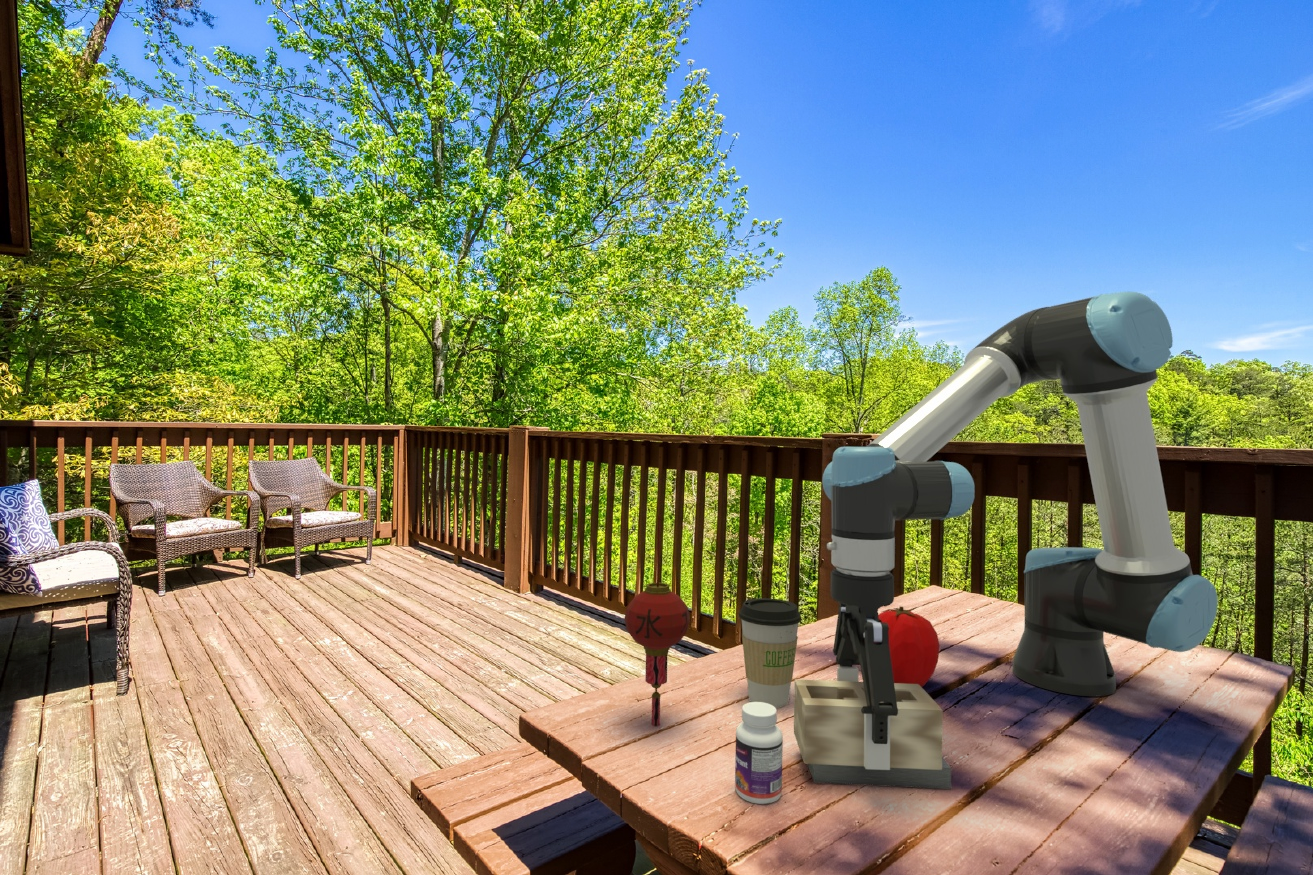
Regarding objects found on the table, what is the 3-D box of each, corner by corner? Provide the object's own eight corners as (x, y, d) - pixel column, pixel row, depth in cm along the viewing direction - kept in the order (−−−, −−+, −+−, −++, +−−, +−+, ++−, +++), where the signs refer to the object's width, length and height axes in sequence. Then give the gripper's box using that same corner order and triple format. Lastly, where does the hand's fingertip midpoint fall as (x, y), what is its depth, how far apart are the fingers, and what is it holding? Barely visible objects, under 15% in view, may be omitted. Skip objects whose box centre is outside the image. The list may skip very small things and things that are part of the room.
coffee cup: (801, 716, 94) (802, 615, 94) (734, 709, 96) (736, 610, 96) (799, 690, 103) (800, 599, 103) (739, 685, 105) (740, 595, 105)
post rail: (928, 759, 81) (929, 708, 81) (950, 788, 74) (951, 733, 74) (803, 753, 82) (804, 703, 82) (814, 782, 75) (814, 728, 75)
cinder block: (917, 737, 82) (918, 684, 82) (941, 769, 74) (942, 710, 74) (793, 732, 83) (794, 679, 83) (804, 763, 75) (805, 704, 75)
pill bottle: (730, 780, 76) (731, 699, 76) (774, 778, 76) (775, 698, 76) (740, 806, 70) (741, 719, 70) (787, 804, 71) (788, 718, 71)
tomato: (868, 695, 102) (869, 613, 102) (864, 669, 114) (865, 596, 114) (946, 704, 99) (947, 620, 99) (933, 676, 110) (934, 601, 110)
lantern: (696, 715, 93) (699, 513, 93) (677, 744, 84) (680, 520, 84) (636, 705, 96) (639, 510, 96) (612, 732, 87) (615, 517, 87)
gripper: (812, 551, 91) (811, 697, 91) (857, 593, 66) (856, 794, 66) (865, 552, 91) (864, 699, 91) (930, 594, 66) (929, 797, 66)
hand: (860, 739), depth 78 cm, fingers open, 13 cm apart
